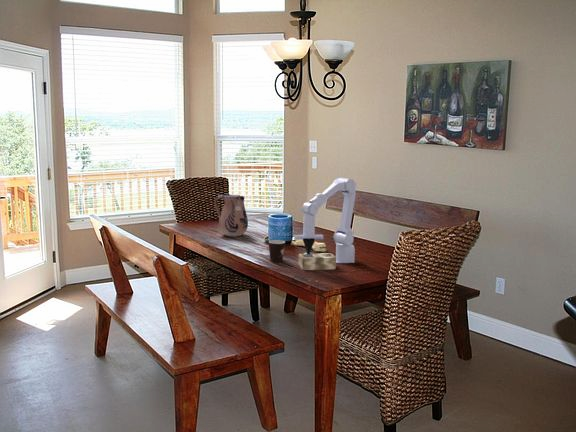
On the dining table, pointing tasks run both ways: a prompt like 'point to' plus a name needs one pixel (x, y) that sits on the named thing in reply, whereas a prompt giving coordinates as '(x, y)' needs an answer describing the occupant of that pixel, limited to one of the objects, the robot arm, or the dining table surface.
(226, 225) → the ceramic pitcher
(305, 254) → the peg
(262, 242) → the dining table surface
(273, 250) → the coffee mug
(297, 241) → the cat figure
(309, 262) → the block
